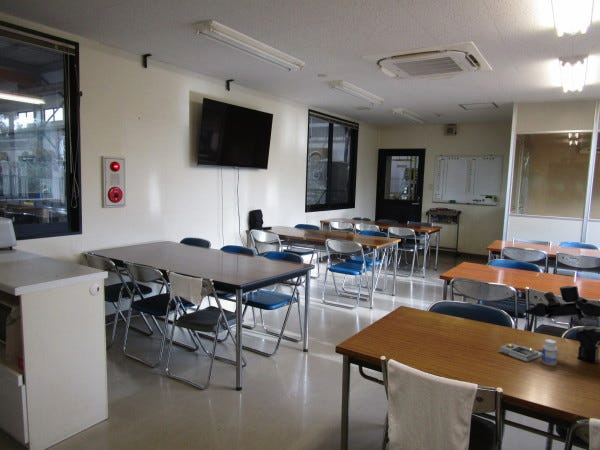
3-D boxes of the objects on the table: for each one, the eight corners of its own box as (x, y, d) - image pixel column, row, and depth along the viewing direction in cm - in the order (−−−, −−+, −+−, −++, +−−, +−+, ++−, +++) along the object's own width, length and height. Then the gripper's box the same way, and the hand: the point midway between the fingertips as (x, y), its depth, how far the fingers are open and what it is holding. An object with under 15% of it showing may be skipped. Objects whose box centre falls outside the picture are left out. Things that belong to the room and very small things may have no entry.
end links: (542, 355, 188) (543, 348, 188) (526, 361, 181) (527, 354, 181) (516, 346, 199) (516, 339, 198) (499, 351, 192) (500, 345, 191)
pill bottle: (543, 359, 184) (544, 337, 183) (557, 362, 181) (559, 340, 180) (540, 363, 180) (542, 341, 179) (555, 366, 177) (556, 344, 176)
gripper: (568, 293, 198) (532, 296, 209) (555, 290, 186) (518, 293, 197) (572, 318, 195) (536, 319, 206) (559, 315, 183) (522, 317, 194)
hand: (528, 312), depth 201 cm, fingers open, 9 cm apart
